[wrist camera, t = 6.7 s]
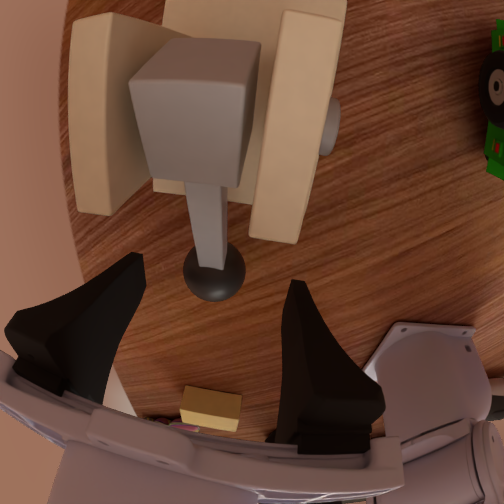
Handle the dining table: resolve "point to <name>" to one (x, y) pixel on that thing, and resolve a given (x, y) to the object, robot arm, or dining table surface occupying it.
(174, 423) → the decorative ornament
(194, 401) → the butter
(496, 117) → the toy car
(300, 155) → the wooden lever stand
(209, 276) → the arcade joystick
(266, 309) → the dining table surface
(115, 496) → the robot arm
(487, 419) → the figurine
